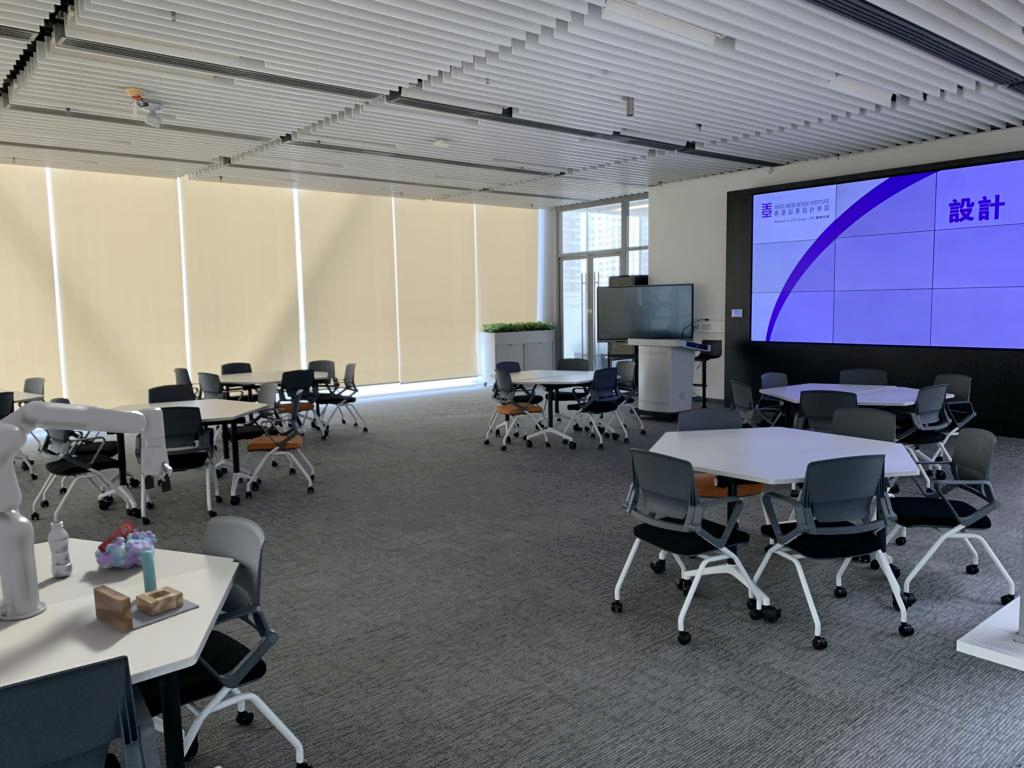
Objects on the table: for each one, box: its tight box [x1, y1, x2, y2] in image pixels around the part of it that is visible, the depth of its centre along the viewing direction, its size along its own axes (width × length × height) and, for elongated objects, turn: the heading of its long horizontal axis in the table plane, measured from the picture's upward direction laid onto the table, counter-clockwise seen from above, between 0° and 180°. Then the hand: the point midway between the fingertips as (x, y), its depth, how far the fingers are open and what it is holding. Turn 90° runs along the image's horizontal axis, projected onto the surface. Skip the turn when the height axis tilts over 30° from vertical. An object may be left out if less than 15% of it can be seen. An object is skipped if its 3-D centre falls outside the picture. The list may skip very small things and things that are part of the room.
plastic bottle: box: [47, 520, 74, 578], centre depth 272 cm, size 6×7×20 cm
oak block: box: [135, 585, 184, 616], centre depth 239 cm, size 10×10×4 cm
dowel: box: [141, 550, 158, 593], centre depth 253 cm, size 4×4×14 cm
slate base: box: [95, 598, 200, 635], centre depth 236 cm, size 24×18×1 cm
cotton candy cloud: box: [94, 518, 158, 570], centre depth 282 cm, size 20×22×18 cm
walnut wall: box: [92, 584, 133, 632], centre depth 228 cm, size 3×18×10 cm, turn 51°
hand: (158, 490), depth 270 cm, fingers open, 9 cm apart
